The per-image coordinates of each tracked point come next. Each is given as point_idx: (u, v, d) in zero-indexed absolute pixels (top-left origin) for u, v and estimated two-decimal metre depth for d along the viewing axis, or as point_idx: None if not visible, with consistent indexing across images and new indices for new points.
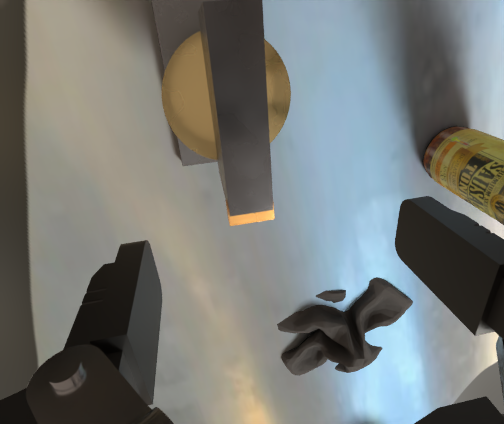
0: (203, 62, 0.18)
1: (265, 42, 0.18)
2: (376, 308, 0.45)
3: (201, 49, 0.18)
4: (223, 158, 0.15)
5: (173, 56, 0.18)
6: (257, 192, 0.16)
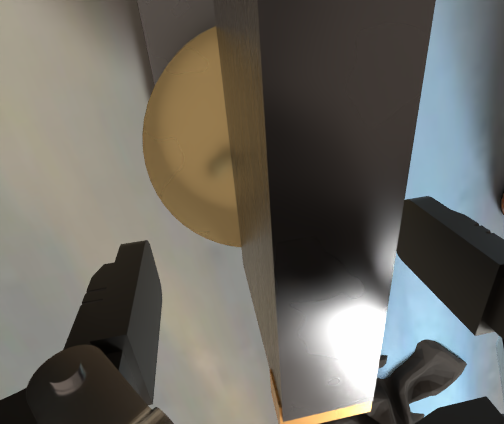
0: (221, 86, 0.10)
1: None
2: (423, 374, 0.36)
3: (217, 61, 0.09)
4: (279, 328, 0.06)
5: (163, 75, 0.09)
6: (346, 379, 0.07)
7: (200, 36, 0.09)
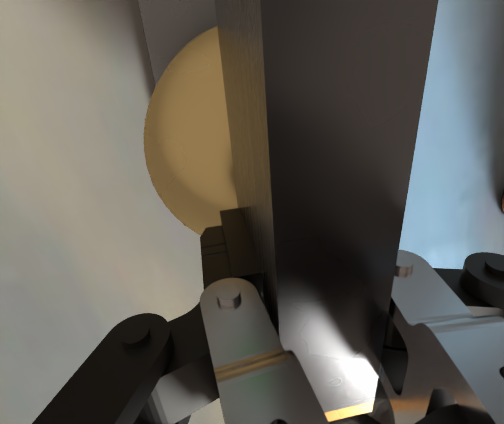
0: (222, 86, 0.10)
1: None
2: None
3: (218, 61, 0.09)
4: (281, 328, 0.06)
5: (164, 75, 0.09)
6: (347, 379, 0.07)
7: (201, 36, 0.09)
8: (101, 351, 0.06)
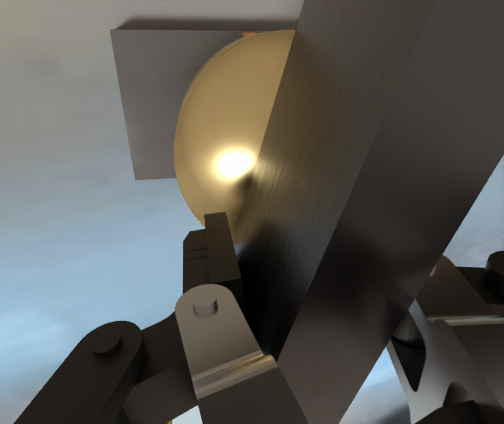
0: (277, 84, 0.10)
1: None
2: None
3: (283, 61, 0.10)
4: (294, 323, 0.06)
5: (230, 53, 0.09)
6: (325, 395, 0.07)
7: (278, 32, 0.09)
8: (70, 362, 0.06)
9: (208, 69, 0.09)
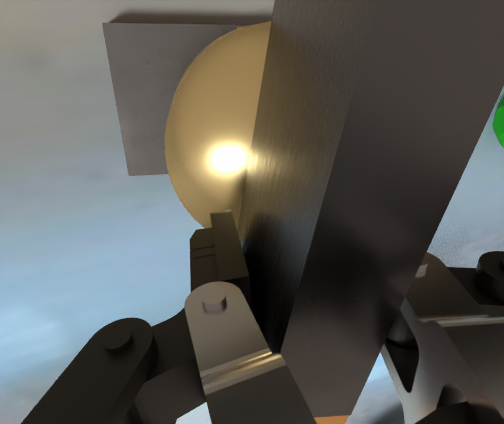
0: (260, 79, 0.10)
1: None
2: None
3: (263, 55, 0.10)
4: (290, 320, 0.06)
5: (208, 53, 0.09)
6: (334, 387, 0.07)
7: (254, 26, 0.09)
8: (82, 358, 0.06)
9: (188, 73, 0.09)
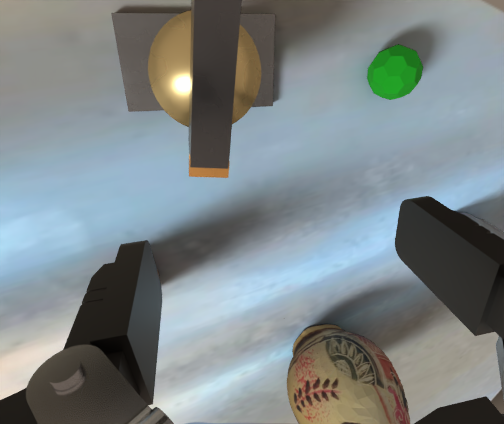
0: (189, 37, 0.21)
1: (245, 32, 0.22)
2: None
3: (189, 26, 0.21)
4: (192, 114, 0.18)
5: (164, 26, 0.21)
6: (217, 151, 0.19)
7: (183, 12, 0.21)
8: None
9: (156, 36, 0.21)
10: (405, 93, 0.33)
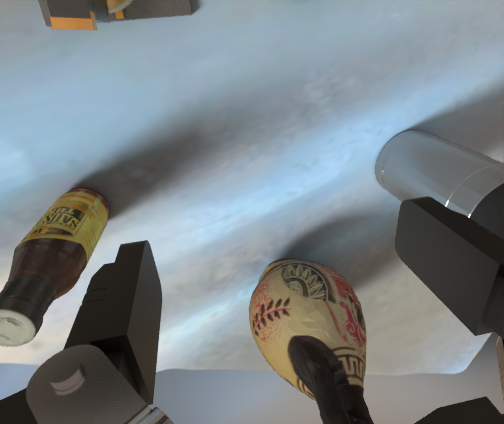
0: None
1: None
2: None
3: None
4: None
5: None
6: None
7: None
8: None
9: None
10: None
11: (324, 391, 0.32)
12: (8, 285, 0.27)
